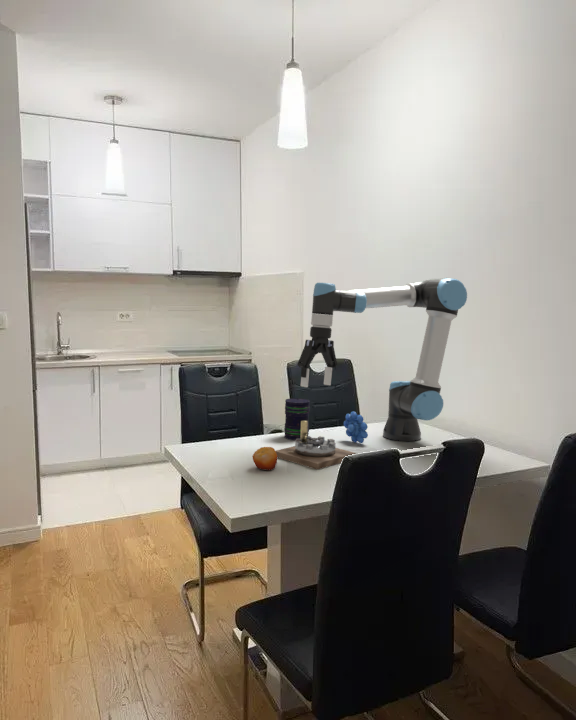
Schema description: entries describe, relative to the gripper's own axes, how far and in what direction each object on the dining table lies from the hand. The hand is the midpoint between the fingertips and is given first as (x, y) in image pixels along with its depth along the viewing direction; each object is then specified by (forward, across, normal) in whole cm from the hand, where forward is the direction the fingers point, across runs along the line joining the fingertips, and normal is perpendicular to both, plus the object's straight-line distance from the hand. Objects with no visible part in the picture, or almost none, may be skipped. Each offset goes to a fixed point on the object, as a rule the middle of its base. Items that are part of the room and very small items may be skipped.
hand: (315, 385), depth 203 cm
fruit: (+26, +27, +2) cm, 37 cm away
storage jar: (+24, -13, -17) cm, 32 cm away
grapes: (+23, -22, +4) cm, 32 cm away
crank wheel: (+22, +5, +6) cm, 23 cm away
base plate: (+24, +5, +6) cm, 25 cm away
